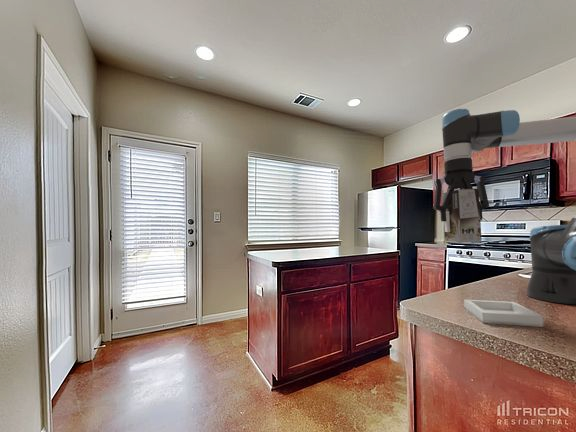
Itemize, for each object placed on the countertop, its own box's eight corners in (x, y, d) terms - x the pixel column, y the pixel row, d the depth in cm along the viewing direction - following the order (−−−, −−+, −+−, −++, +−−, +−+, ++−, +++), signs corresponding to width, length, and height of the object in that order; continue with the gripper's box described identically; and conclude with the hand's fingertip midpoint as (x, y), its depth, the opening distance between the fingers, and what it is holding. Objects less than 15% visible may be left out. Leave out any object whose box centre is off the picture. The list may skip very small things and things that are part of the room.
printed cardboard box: (483, 242, 79) (479, 188, 79) (461, 242, 79) (458, 188, 80) (463, 240, 88) (460, 192, 89) (443, 241, 88) (441, 192, 89)
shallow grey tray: (514, 311, 74) (514, 301, 74) (543, 327, 62) (542, 316, 62) (464, 308, 77) (464, 299, 77) (482, 322, 65) (482, 312, 65)
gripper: (489, 159, 85) (493, 230, 84) (420, 165, 91) (423, 232, 90) (501, 153, 78) (506, 231, 77) (425, 159, 84) (429, 232, 83)
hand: (461, 231), depth 83 cm, fingers closed on printed cardboard box, 7 cm apart
